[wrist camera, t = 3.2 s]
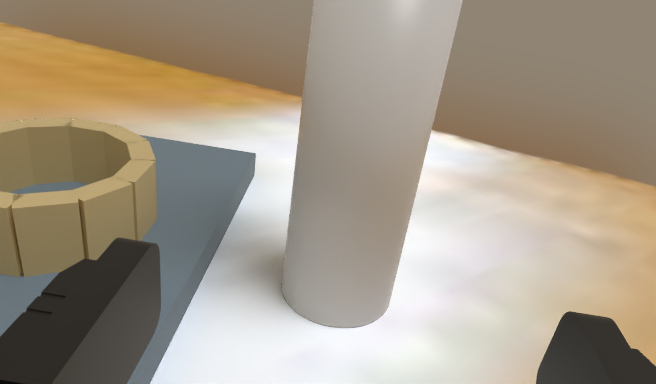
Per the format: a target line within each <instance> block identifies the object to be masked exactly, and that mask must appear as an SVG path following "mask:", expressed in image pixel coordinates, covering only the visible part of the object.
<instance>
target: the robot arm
mask: <svg viewBox="0 0 656 384" xmlns="http://www.w3.org/2000/svg"><path fill="white" fill-rule="evenodd" d="M160 311H161V277H160V250H159V246H158V245H157V244H156V243H150V242H144V241H138V240H132V239H125V238H116V239H115V240H114V241H113V242H112V243H111V244H110V245H109V246H108V248H107V249H106V250H105V251H104V252H103V253H102V255H101V256H100V257H99V258H98V259H97V260H91V259H83V260H81V261H79V262H78V263H76V264H74V265H72V266H70V267H69V268H67V269H65V270H63V271H62V272H60V273H59V274H58V275H57V276H56V277H55V278H54V279H53V280H52V281H51V282H50V283H49V284H48V285H47V287H46V288H45V289H44V290H43V291H42V292H41V296H37V297H36V298H35V300H34V301H33V302H32V303H31V304H30V305H29V306H28V307H27V309H26V312H25V313H24V312H23V313H22V314H21V315H20V316H19V317H18V318H17V319H16V320H15V321H14V322H13V323H12V324H11V325H10V327H9V328H8V329H7V330H6V331H5V332H4V333H3V334H2V335H1V336H0V384H127V383H128V381H129V379H130V377H131V375H132V374H133V372H134V370H135V368H136V366H137V364H138V363H139V361H140V359H141V357H142V355H143V354H144V352H145V350H146V348H147V346H148V344H149V343H150V341H151V339H152V337H153V335H154V333H155V331H156V328H157V325H158V321H159V317H160ZM536 384H656V366H655V365H653V364H652V363H651V362H650V361H649V360H648V359H647V358H646V357H645V356H644V355H643V354H642V353H641V352H640V351H639V350H637V349H631V348H630V346H629V345H628V343H627V341H626V340H625V338H624V336H623V335H622V333H621V331H620V330H619V328H618V326H617V325H616V323H615V322H614V321H613V320H612V319H610V318H607V317H601V316H595V315H589V314H583V313H576V312H567V313H565V314H564V315H563V317H562V318H561V320H560V322H559V324H558V326H557V329H556V331H555V333H554V335H553V337H552V340H551V342H550V344H549V346H548V349H547V351H546V353H545V355H544V357H543V360H542V362H541V364H540V366H539V369H538V373H537V380H536Z"/></svg>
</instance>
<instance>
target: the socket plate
mask: <svg viewBox="0 0 656 384" xmlns="http://www.w3.org/2000/svg"><path fill="white" fill-rule="evenodd" d="M255 157H256V153H249V152H243V151H237V150H230V149H224V148H218V147H211V146H205V145H199V144H192V143H186V142H180V141H174V140H167V139H161V138H155V137H148V136H142V135H137V134H135V133H133V132H131V131H129V130H127V129H125V128H123V127H121V126H117V125H113V124H107V123H101V122H95V121H88V120H82V119H76V118H75V119H74V120H72V118H62V119H25V120H22V122H21V121H19V120H16V121H11V122H6V123H2V124H0V336H1V335H2V334H3V333H4V332H5V331H6V330H7V329H8V328H9V327H10V325H11V324H12V323H13V322H14V321H15V320H16V319H17V318H18V317H19V316H20V315H21V314H22V313H23V312H24V313H25V312H26V309H27V307H28V306H29V305H30V304H31V303H32V302H33V301H34V300H35V298H36V297H37V296H41V292H42V291H43V290H44V289H45V288H46V287H47V285H48V284H49V283H50V282H51V281H52V280H53V279H54V278H55V277H56V276H57V275H58V274H59V273H60V272H62V271H63V270H65V269H67V268H69V267H70V266H72V265H74V264H76V263H78V262H79V261H81V260H83V259H91V260H97V259H98V258H99V257H100V256H101V255H102V253H103V252H104V251H105V250H106V249H107V248H108V246H109V245H110V244H111V243H112V242H113V241H114V240H115V239H116V238H125V239H132V240H138V241H144V242H150V243H156V244H157V245H158V246H159V250H160V277H161V311H160V317H159V321H158V325H157V328H156V331H155V333H154V335H153V337H152V339H151V341H150V343H149V344H148V346H147V348H146V350H145V352H144V354H143V355H142V357H141V359H140V361H139V363H138V364H137V366H136V368H135V370H134V372H133V374H132V375H131V377H130V379H129V381H128V383H127V384H149V383H150V381H151V379H152V377H153V375H154V373H155V371H156V369H157V367H158V365H159V363H160V361H161V360H162V358H163V356H164V354H165V352H166V350H167V348H168V346H169V344H170V342H171V340H172V338H173V336H174V334H175V332H176V330H177V328H178V326H179V324H180V322H181V320H182V318H183V316H184V314H185V312H186V310H187V308H188V306H189V304H190V302H191V300H192V298H193V296H194V294H195V292H196V290H197V288H198V286H199V284H200V282H201V280H202V278H203V276H204V274H205V272H206V270H207V268H208V266H209V264H210V262H211V260H212V258H213V256H214V254H215V252H216V250H217V248H218V246H219V244H220V242H221V240H222V238H223V236H224V234H225V232H226V230H227V228H228V226H229V224H230V222H231V220H232V218H233V216H234V214H235V212H236V210H237V208H238V206H239V204H240V202H241V200H242V198H243V196H244V194H245V192H246V190H247V188H248V186H249V184H250V182H251V180H252V178H253V176H254V171H255Z"/></svg>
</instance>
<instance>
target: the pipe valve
mask: <svg viewBox="0 0 656 384" xmlns="http://www.w3.org/2000/svg"><path fill="white" fill-rule="evenodd" d="M462 1H463V0H314V2H313V11H312V20H311V29H310V38H309V47H308V56H307V64H306V73H305V83H304V91H303V100H302V109H301V117H300V126H299V135H298V144H297V153H296V162H295V171H294V179H293V188H292V197H291V206H290V215H289V224H288V233H287V241H286V250H285V259H284V268H283V277H282V292H283V295H284V298H285V300H286V301H287V303H288V304H289V305H290V306H291V307H292V308H293V309H294V310H295V311H296V312H297V313H299V314H300V315H302V316H303V317H305V318H307V319H309V320H311V321H313V322H316V323H319V324H322V325H326V326H331V327H338V328H351V327H359V326H363V325H367V324H369V323H372V322H374V321H375V320H377V319H379V318H380V317H381V316H382V315H383V314H384V313H385V312H386V310H387V308H388V306H389V302H390V298H391V294H392V290H393V286H394V282H395V278H396V274H397V269H398V265H399V261H400V257H401V253H402V249H403V245H404V240H405V236H406V232H407V228H408V224H409V220H410V216H411V212H412V207H413V203H414V199H415V195H416V191H417V187H418V183H419V179H420V174H421V170H422V166H423V162H424V158H425V154H426V150H427V145H428V141H429V137H430V133H431V129H432V124H433V120H434V117H435V112H436V108H437V104H438V100H439V95H440V92H441V87H442V84H443V79H444V75H445V71H446V67H447V63H448V59H449V55H450V50H451V46H452V42H453V38H454V34H455V30H456V25H457V22H458V17H459V13H460V9H461V5H462Z"/></svg>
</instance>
